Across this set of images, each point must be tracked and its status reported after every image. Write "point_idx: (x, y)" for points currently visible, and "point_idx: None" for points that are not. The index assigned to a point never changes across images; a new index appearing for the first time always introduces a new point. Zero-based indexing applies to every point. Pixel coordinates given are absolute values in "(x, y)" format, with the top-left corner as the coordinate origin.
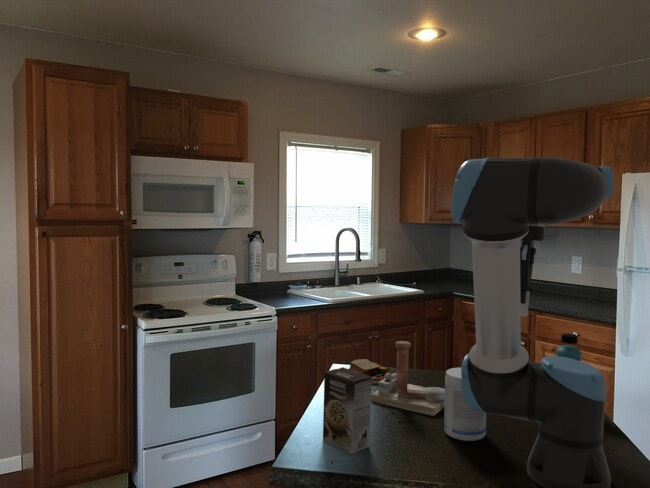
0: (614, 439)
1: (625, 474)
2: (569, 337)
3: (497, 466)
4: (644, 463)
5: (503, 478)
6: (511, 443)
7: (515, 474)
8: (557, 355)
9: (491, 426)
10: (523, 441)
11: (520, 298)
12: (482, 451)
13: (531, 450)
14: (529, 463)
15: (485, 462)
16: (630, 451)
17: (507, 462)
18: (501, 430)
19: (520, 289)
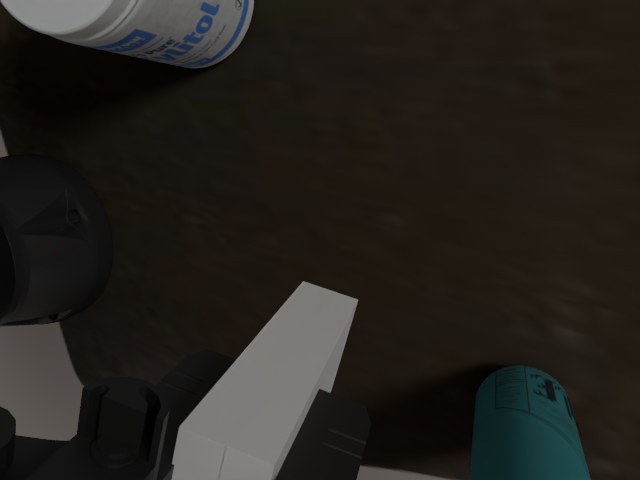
0: None
1: (99, 366)
2: None
3: (47, 88)
4: None
5: (3, 96)
6: (176, 141)
7: (27, 126)
8: (523, 476)
9: (279, 94)
10: (197, 178)
11: (166, 386)
12: (108, 55)
13: (15, 168)
14: (5, 157)
15: (56, 59)
16: None
17: (72, 115)
18: (256, 123)
19: (51, 447)
